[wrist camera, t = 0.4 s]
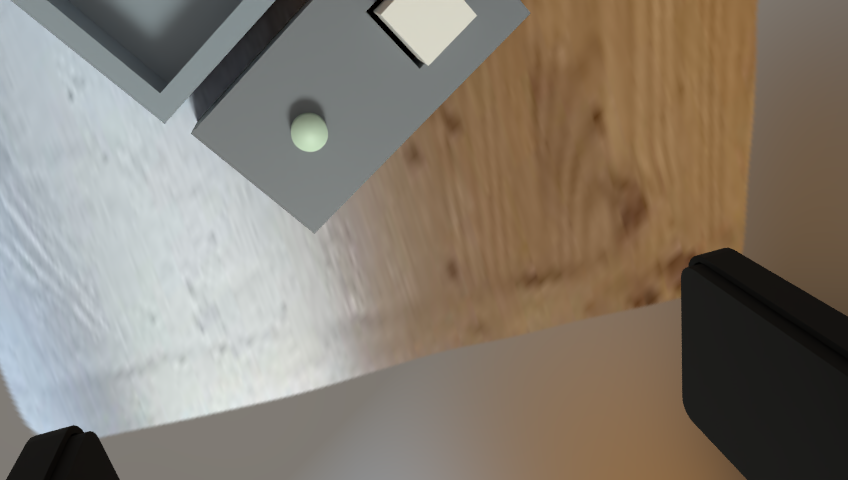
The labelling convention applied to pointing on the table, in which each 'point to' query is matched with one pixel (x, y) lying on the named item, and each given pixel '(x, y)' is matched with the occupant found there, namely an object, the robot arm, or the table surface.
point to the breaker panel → (338, 101)
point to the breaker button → (425, 23)
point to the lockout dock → (150, 41)
